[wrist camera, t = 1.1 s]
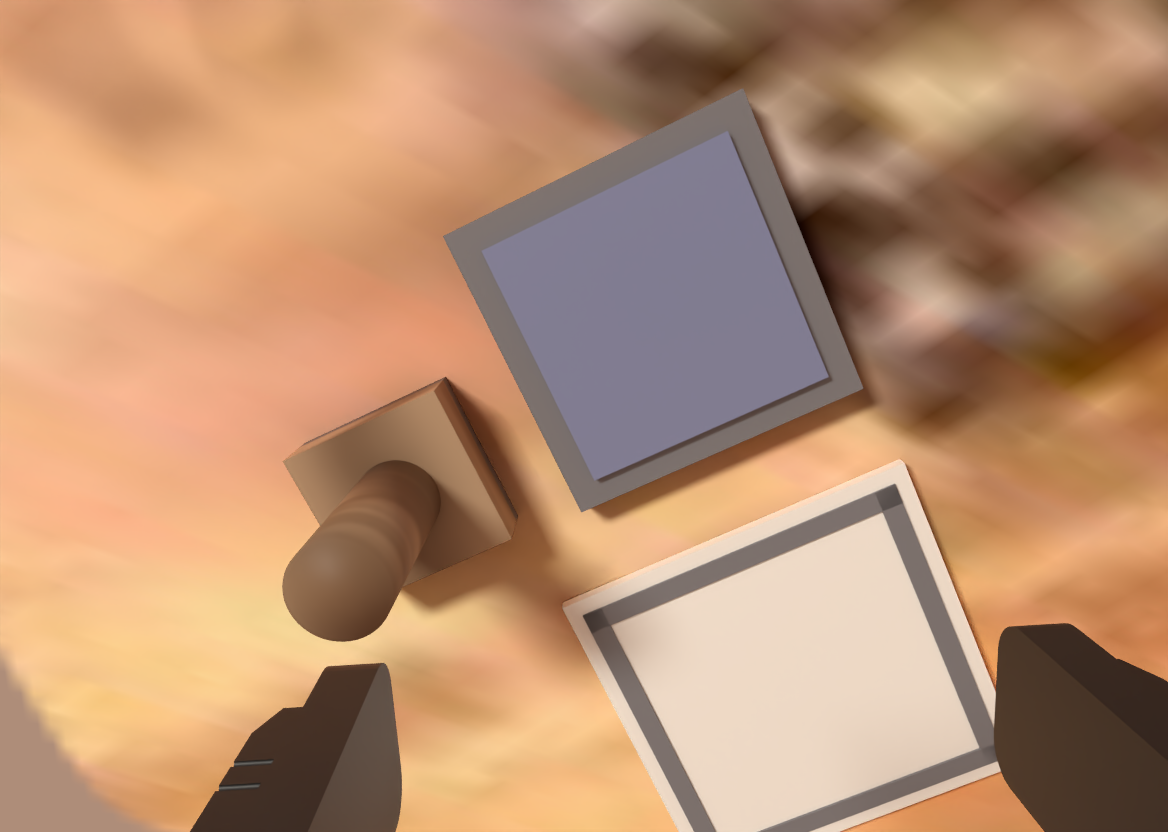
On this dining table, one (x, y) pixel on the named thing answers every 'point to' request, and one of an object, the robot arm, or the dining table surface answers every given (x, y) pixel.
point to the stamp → (390, 510)
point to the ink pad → (657, 303)
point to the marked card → (798, 666)
